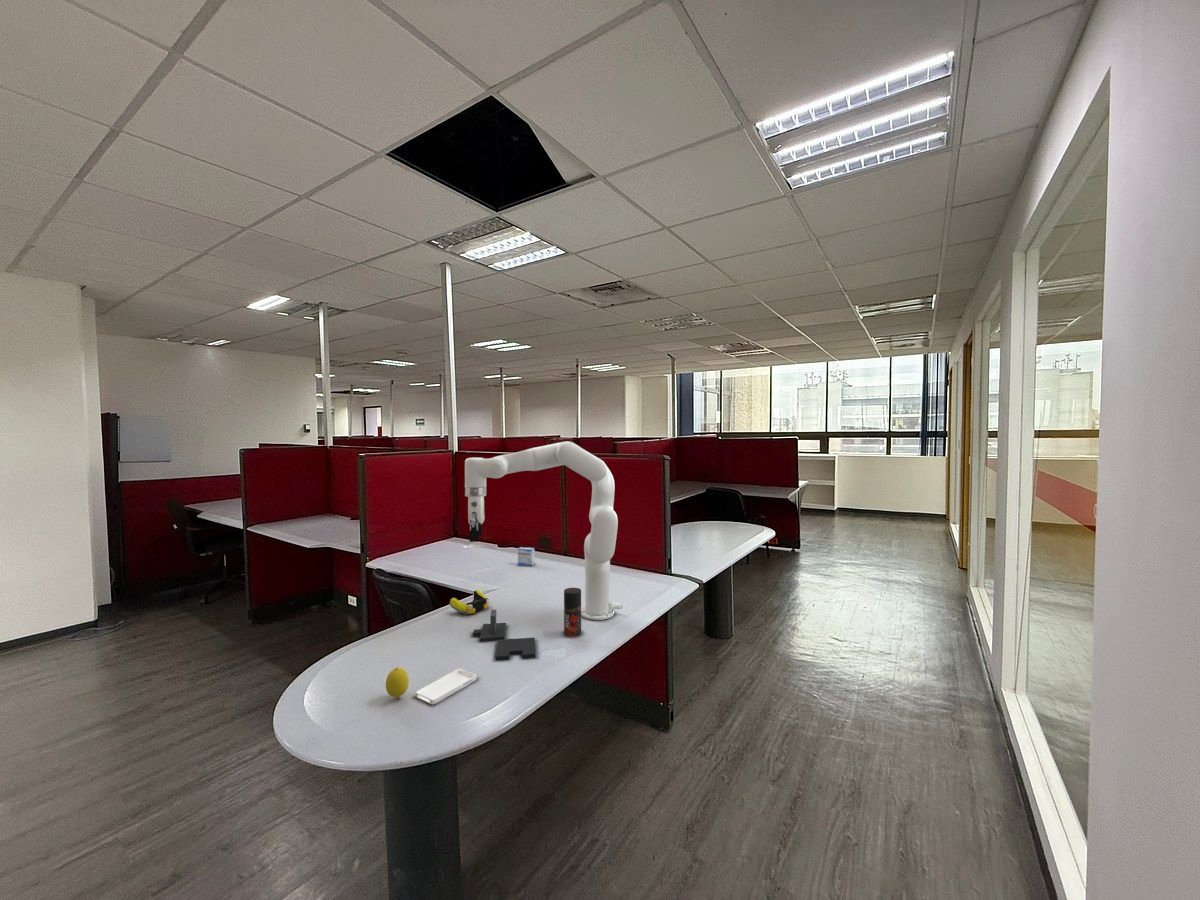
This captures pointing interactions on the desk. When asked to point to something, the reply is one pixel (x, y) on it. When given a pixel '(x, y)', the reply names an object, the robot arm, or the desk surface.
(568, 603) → the deodorant
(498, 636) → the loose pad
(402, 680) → the lemon
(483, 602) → the gaming controller
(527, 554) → the blue and white box
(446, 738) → the desk surface
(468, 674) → the phone case
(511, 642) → the base pad
